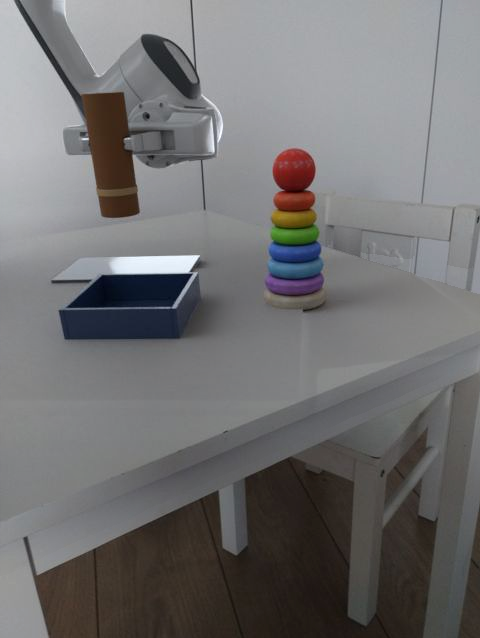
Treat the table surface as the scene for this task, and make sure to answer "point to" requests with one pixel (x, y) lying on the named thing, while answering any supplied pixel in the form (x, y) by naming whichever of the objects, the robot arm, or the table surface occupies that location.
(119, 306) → the tray
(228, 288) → the table surface
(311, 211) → the stacking toy
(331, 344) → the table surface
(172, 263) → the board
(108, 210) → the rolled mat
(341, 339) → the table surface
